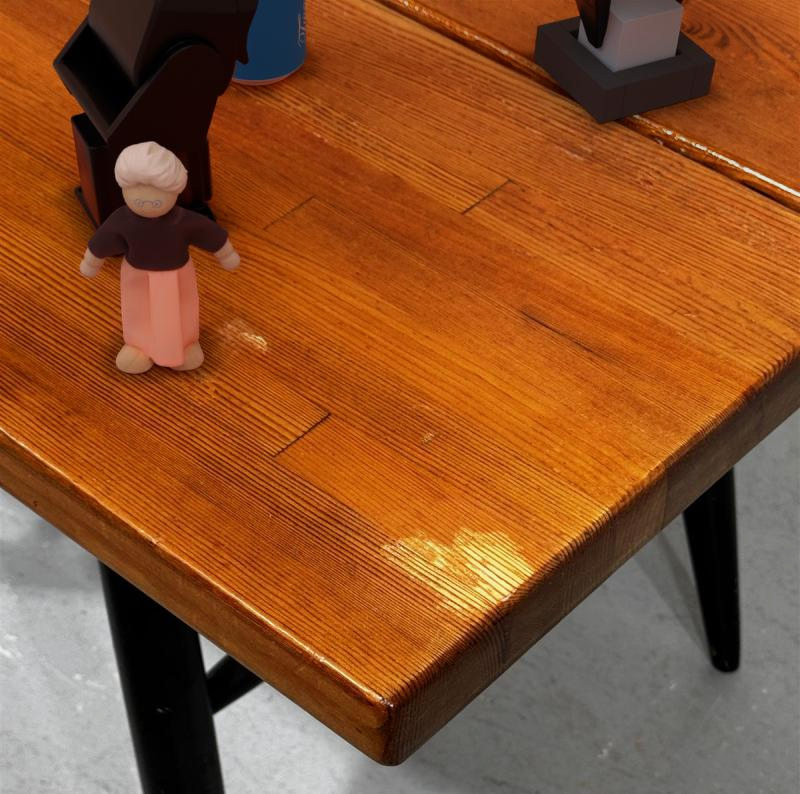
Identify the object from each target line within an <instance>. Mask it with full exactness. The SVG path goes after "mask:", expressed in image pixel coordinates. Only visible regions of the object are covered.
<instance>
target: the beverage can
mask: <svg viewBox="0 0 800 794" xmlns="http://www.w3.org/2000/svg"><path fill="white" fill-rule="evenodd" d="M306 18H307V17H306V0H258V7H257V10H256V12H255V15H254V18H253V20H252V23H251V26H250V29H249V32H248V38H247V53H248V59H249V62H248V64H246V65H243V64H242V63H240V62H239V61H238V60H237V63H236V70H235V72H234V75H233V78H232V81H231V82H234V83H237V84H240V85H244V86H245V85H246V86H266V85H272V84H275V83H278V82H281V81H283V80H285V79H286V78H288V77H289V76H290V75H291V74H293V73H295V72H296V71H298V70H299V68H301V67H302V65H303V64H304V63H305V61H306V58H307V30H306V29H307V26H306V25H307V24H306Z"/></svg>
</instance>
